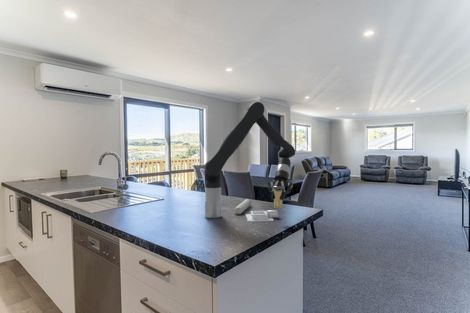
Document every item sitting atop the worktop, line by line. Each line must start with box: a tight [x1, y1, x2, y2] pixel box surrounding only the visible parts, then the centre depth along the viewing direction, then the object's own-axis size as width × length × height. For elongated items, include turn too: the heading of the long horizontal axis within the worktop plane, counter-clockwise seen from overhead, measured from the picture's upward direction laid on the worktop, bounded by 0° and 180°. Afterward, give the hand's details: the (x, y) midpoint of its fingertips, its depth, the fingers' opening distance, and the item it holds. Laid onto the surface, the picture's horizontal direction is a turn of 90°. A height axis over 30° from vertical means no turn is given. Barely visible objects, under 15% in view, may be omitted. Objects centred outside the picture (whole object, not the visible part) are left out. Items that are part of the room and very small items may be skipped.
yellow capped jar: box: [272, 185, 284, 210], centre depth 139 cm, size 6×6×11 cm
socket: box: [245, 209, 279, 223], centre depth 149 cm, size 18×14×4 cm
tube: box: [234, 198, 252, 215], centre depth 168 cm, size 5×5×25 cm
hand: (277, 198), depth 137 cm, fingers closed on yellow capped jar, 4 cm apart
